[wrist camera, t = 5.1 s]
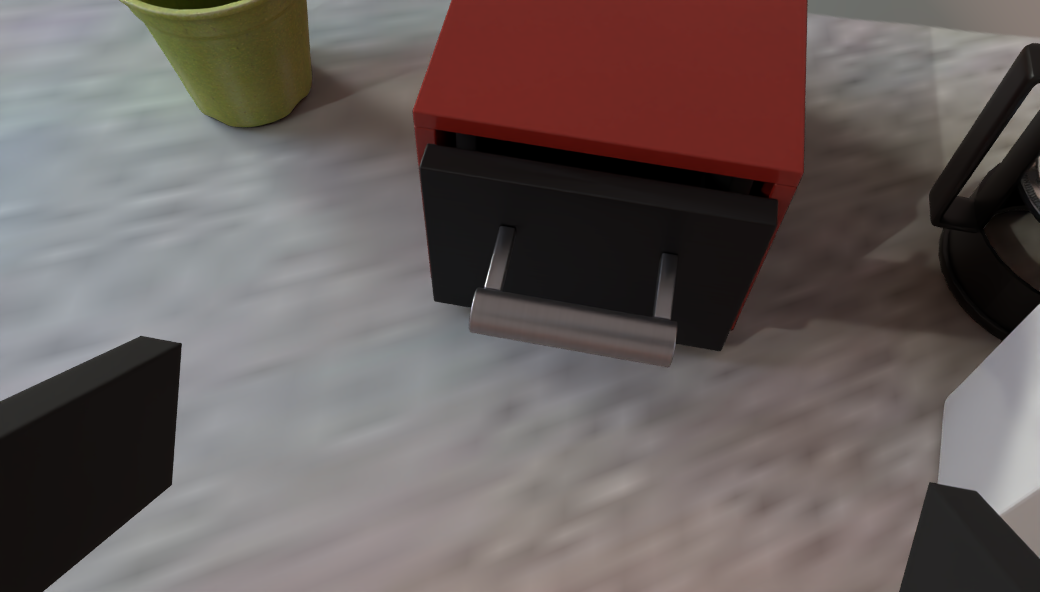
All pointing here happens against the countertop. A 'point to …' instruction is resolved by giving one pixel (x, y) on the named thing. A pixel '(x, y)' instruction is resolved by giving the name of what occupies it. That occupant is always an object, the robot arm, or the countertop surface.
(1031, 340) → the milk carton
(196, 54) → the plant pot
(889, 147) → the countertop surface
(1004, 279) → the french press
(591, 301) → the black drawer
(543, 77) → the red drawer cabinet
